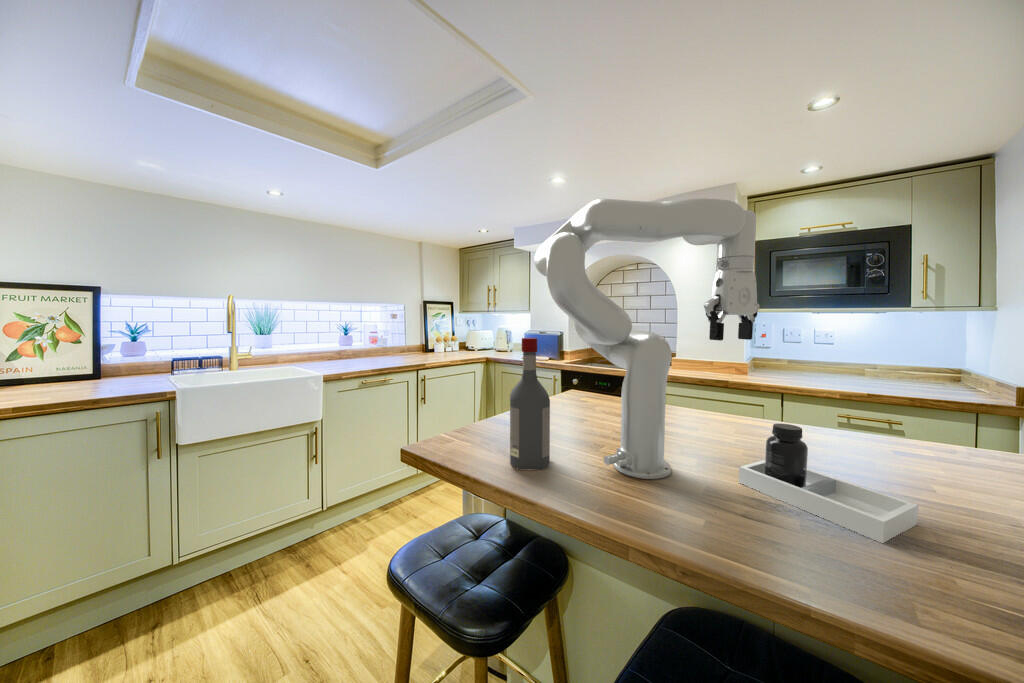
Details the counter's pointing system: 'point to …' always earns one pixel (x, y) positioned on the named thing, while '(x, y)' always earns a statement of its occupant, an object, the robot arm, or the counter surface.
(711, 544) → the counter surface
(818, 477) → the caddy
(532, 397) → the liquor
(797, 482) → the supplement bottle
